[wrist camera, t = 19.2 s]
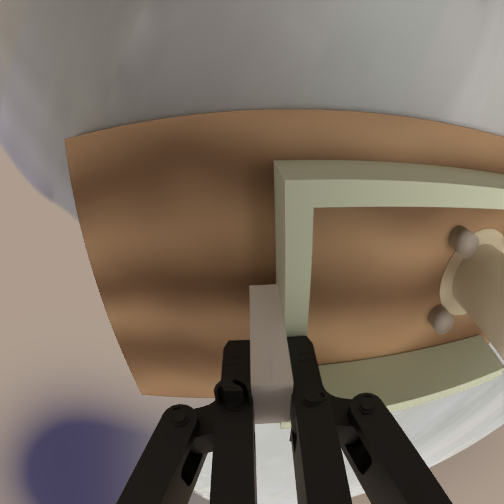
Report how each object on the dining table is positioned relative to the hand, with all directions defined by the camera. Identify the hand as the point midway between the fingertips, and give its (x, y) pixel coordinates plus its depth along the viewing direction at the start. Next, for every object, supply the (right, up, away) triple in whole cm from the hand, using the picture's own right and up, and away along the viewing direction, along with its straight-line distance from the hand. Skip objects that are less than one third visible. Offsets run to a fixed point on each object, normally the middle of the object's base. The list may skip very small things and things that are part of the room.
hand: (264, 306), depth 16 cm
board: (+6, +1, +3) cm, 6 cm away
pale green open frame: (+10, +1, +1) cm, 10 cm away
